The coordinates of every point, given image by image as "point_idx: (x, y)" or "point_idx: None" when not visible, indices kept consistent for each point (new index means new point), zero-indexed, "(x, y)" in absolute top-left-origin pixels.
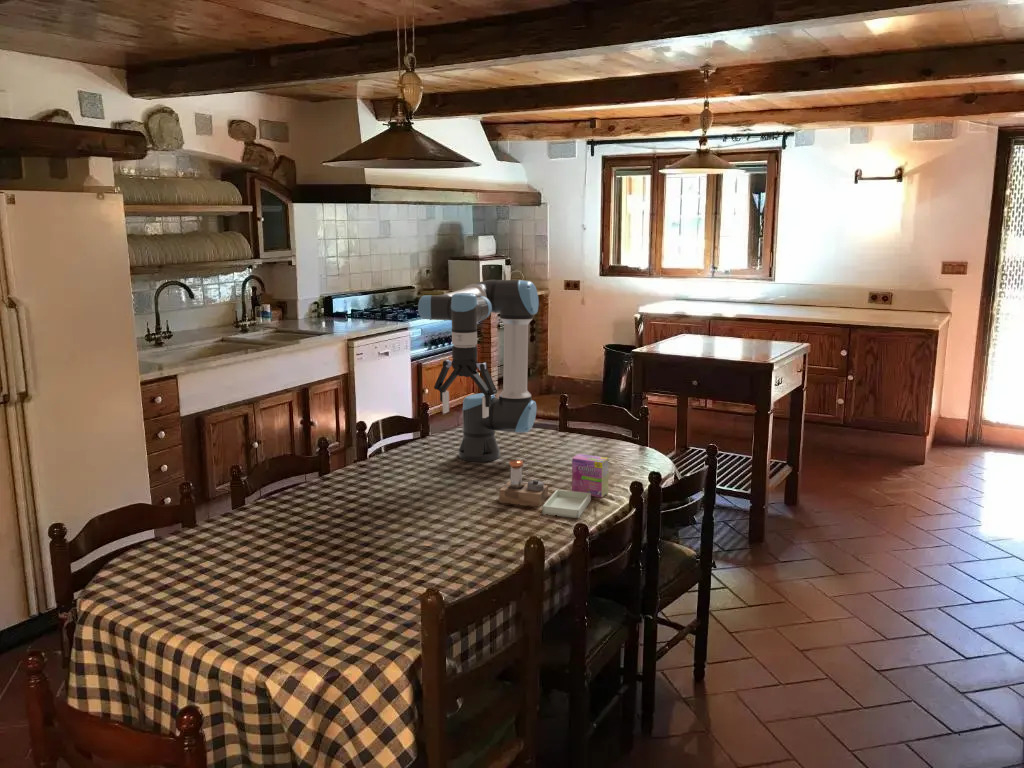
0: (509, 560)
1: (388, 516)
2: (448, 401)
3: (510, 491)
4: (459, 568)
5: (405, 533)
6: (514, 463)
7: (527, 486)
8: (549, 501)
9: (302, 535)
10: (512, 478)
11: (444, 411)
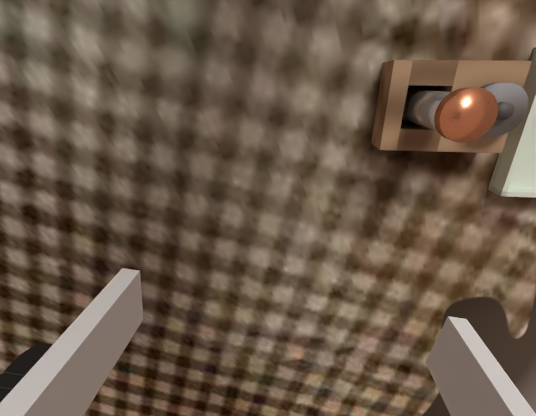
0: None
1: (179, 276)
2: (90, 338)
3: (413, 150)
4: (368, 404)
5: (246, 329)
6: (463, 142)
7: None
8: (519, 150)
9: None
10: (428, 127)
11: (134, 330)
